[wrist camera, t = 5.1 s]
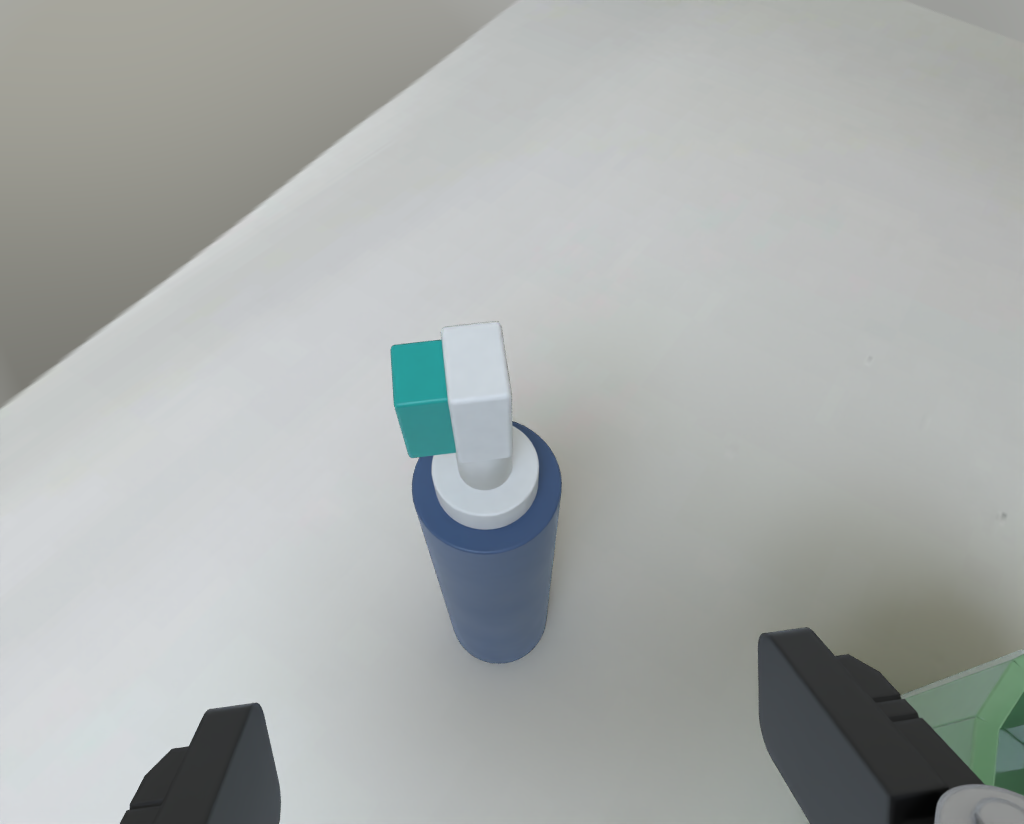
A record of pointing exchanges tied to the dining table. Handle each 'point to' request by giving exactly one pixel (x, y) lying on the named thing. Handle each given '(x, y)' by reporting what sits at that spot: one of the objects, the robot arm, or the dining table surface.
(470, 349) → the toothbrush
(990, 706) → the cup
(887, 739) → the robot arm
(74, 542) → the dining table surface
